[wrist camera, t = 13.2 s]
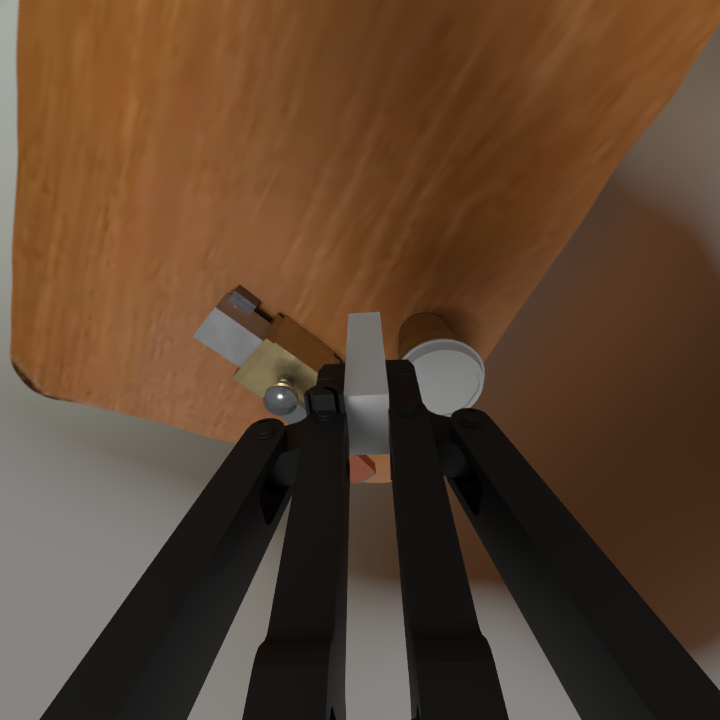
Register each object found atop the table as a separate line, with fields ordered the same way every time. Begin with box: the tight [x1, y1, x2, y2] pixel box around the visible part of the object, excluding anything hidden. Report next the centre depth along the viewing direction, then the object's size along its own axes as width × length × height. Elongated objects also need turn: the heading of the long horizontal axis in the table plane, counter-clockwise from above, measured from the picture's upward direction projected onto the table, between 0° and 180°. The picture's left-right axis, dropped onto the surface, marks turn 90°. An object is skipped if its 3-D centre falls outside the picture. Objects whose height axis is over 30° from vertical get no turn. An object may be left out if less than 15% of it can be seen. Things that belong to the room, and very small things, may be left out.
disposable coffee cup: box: [398, 313, 485, 417], centre depth 44 cm, size 10×10×12 cm
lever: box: [263, 383, 376, 484], centre depth 43 cm, size 17×4×2 cm, turn 39°
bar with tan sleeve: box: [193, 285, 340, 403], centre depth 46 cm, size 22×7×10 cm, turn 48°
